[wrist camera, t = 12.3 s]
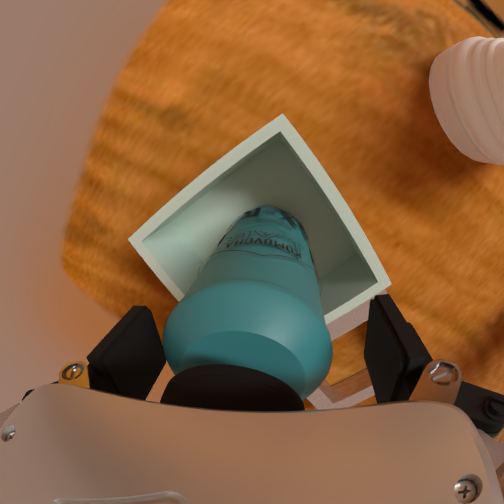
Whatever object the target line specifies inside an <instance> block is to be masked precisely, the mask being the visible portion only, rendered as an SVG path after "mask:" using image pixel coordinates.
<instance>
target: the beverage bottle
mask: <svg viewBox="0 0 504 504" xmlns="http://www.w3.org/2000/svg"><path fill="white" fill-rule="evenodd" d="M260 206H261V205H260ZM277 207H278V206H277ZM277 207H274V206H273V205H272V207H267V206H265V207H262V206H261V207H258V208H256V206H255V208H254V209H253V207H252V210H249V211H248V210H247V212H245V213H242V214H243V215H242V216H241V215H240V216H241V217H240V216H239V217H240V218H239V217H237V219H238V218H239V219H238V220H237V219H236V220H237V221H236V220H234V221H236V222H235V224H234V225H233V224H232V225H230V227H231V226H232V228H231V229H230V231H229V232H228V233H227V235H226V234H225V235H224V237H223V238H222V239H221V241H219V244H218V245H217V246H216V247H217V249H216V250H215V248H216V247H215V248H214V250H215V251H214V250H213V251H214V253H213V254H212V255H211V256H210V257H208V258H209V259H208V261H207V263H206V264H205V266H204V267H203V269H202V271H201V273H200V274H199V271H198V274H199V276H198V277H197V279H196V280H195V281H194V283H193V284H192V286H191V287H190V289H189V290H188V292H187V293H186V294H185V296H184V297H183V299H181V300H180V301H179V303H178V304H177V305H176V306H175V307H174V309H173V310H172V312H171V314H170V315H169V317H168V319H167V321H166V324H165V327H164V332H163V347H164V353H165V356H166V359H167V362H168V364H169V366H170V368H171V369H172V371H173V373H174V375H175V376H174V377H173V378H172V379H171V380H170V381H169V383H168V384H167V386H166V389H165V391H164V393H163V395H162V398H161V401H160V403H164V404H171V405H179V406H187V407H195V408H206V409H218V410H234V411H305V408H304V404H303V400H304V399H306V398H307V397H308V396H310V395H311V394H312V393H313V392H314V391H315V390H316V389H317V388H318V387H319V386H320V385H321V384H322V382H323V381H324V379H325V378H326V376H327V374H328V373H329V370H330V367H331V362H332V356H333V351H332V342H331V336H330V333H329V330H328V328H327V326H326V323H325V318H324V313H323V308H322V304H321V299H320V296H321V294H320V295H319V286H318V282H317V278H316V276H317V273H318V272H317V273H316V271H315V270H316V269H315V270H314V267H315V265H314V264H316V262H315V263H314V261H315V260H314V261H313V258H312V254H311V251H309V247H308V243H307V240H308V238H307V237H308V235H307V236H305V235H306V233H305V230H304V228H305V227H304V228H303V226H302V225H301V223H300V222H298V220H297V219H296V218H295V217H294V216H292V215H291V214H290V211H289V213H288V212H286V211H285V210H284V208H283V210H282V209H279V208H277ZM230 227H229V228H230ZM229 228H228V229H229ZM228 229H227V230H228ZM306 238H307V239H306ZM313 256H314V255H313ZM315 268H316V267H315ZM315 273H316V274H315ZM318 277H319V276H318ZM318 281H319V280H318ZM321 291H322V285H321Z"/></svg>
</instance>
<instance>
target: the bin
mask: <svg viewBox="0 0 504 504" xmlns="http://www.w3.org/2000/svg"><path fill="white" fill-rule="evenodd" d="M260 205H261V206H262V207H265V206H267V207H272V205H273V206H274V207H277V206H278V207H277V208H279V209H282V210H283V208H284V210H285V211H286V212H288V213H289V211H290V214H291V215H292V216H294V217H295V218H296V219H297V220H298V222H300V223H301V225H302V226H303V228H304V227H305V228H304V230H305V233H306V235H305V236H307V235H308V237H307V238H308V240H307V243H308V247H309V251H311V254H312V258H313V261H314V260H315V261H314V263H315V262H316V264H314V265H315V267H316V268H315V267H314V270H315V269H316V270H315V271H316V273H317V272H318V273H317V276H316V278H317V282H318V286H319V295H320V294H321V296H320V299H321V304H322V308H323V313H324V318H325V323H326V325H327V324H328V323H330V322H332V321H334V320H335V319H337V318H339V317H341V316H342V315H344V314H346V313H347V312H349V311H351V310H352V309H354V308H355V307H357V306H359V305H360V304H362V303H364V302H365V301H367V300H368V299H370V298H371V297H373V296H375V295H376V294H378V293H379V292H381V291H382V290H384V289H385V288H387V287H388V286H390V285H391V282H390V280H389V278H388V276H387V274H386V272H385V270H384V268H383V266H382V264H381V262H380V261H379V259H378V257H377V255H376V253H375V251H374V250H373V248H372V246H371V244H370V242H369V241H368V239H367V237H366V235H365V234H364V232H363V230H362V228H361V227H360V225H359V223H358V222H357V220H356V218H355V217H354V215H353V213H352V212H351V210H350V208H349V207H348V205H347V204H346V202H345V200H344V199H343V197H342V196H341V194H340V193H339V191H338V190H337V188H336V186H335V185H334V183H333V182H332V180H331V179H330V177H329V176H328V174H327V173H326V171H325V170H324V169H323V167H322V166H321V164H320V163H319V161H318V160H317V158H316V157H315V156H314V154H313V153H312V151H311V150H310V149H309V147H308V146H307V145H306V143H305V142H304V140H303V139H302V138H301V136H300V135H299V134H298V132H297V131H296V130H295V128H294V127H293V126H292V125H291V123H290V122H289V121H288V119H287V118H286V117H285V116H284V114H281V115H280V116H278V117H277V118H275V119H274V120H272V121H271V122H270V123H268V124H267V125H265V126H264V127H262V128H261V129H260V130H258V131H257V132H255V133H254V134H253V135H251V136H250V137H249V138H247V139H246V140H244V141H243V142H242V143H240V144H239V145H238V146H236V147H235V148H234V149H232V150H231V151H230V152H228V153H227V154H226V155H225V156H223V157H222V158H221V159H219V160H218V161H217V162H216V163H214V164H213V165H212V166H211V167H209V168H208V169H207V170H206V171H204V172H203V173H202V174H201V175H199V176H198V177H197V178H196V179H195V180H193V181H192V182H191V183H190V184H189V185H187V186H186V187H185V188H184V189H183V190H181V191H180V192H179V193H178V194H177V195H176V196H174V197H173V198H172V199H171V200H170V201H169V202H168V203H167V204H165V205H164V206H163V207H162V208H161V209H160V210H159V211H158V212H156V213H155V214H154V215H153V216H152V217H151V218H150V219H149V220H148V221H147V222H146V223H145V224H143V225H142V226H141V227H140V228H139V229H138V230H137V231H136V232H135V233H134V234H133V235H132V236H131V237H130V238H129V239H128V240H129V242H130V243H131V244H132V245H133V247H134V248H135V249H136V251H137V252H138V253H139V254H140V256H141V257H142V258H143V260H144V261H145V262H146V263H147V265H148V266H149V267H150V268H151V270H152V271H153V272H154V273H155V274H156V276H157V277H158V278H159V279H160V281H161V282H162V283H163V284H164V285H165V286H166V288H167V289H168V290H169V291H170V292H171V294H172V295H173V296H174V297H175V298H176V299H177V301H178V302H179V301H180V300H181V299H183V297H184V296H185V294H186V293H187V292H188V290H189V289H190V287H191V286H192V284H193V283H194V281H195V280H196V279H197V277H198V276H199V274H200V273H201V271H202V269H203V267H204V266H205V264H206V263H207V261H208V259H209V258H208V257H210V256H211V255H212V254H213V253H214V251H215V250H216V249H217V247H216V246H217V245H218V244H219V241H221V239H222V238H223V237H224V235H225V234H226V235H227V233H228V232H229V231H230V229H231V228H232V226H231V227H230V225H232V224H233V225H234V224H235V222H236V221H237V220H238V219H239V218H240V217H241V216H242V215H243V214H242V213H245V212H247V210H248V211H249V210H252V207H253V209H254V208H255V206H256V208H258V207H261V206H260ZM240 215H241V216H240ZM239 216H240V217H239ZM237 217H239V218H238V219H237ZM236 219H237V220H236ZM234 220H236V221H234ZM229 227H230V228H229ZM228 228H229V229H228ZM227 229H228V230H227ZM307 238H306V239H307ZM215 247H216V248H215ZM214 248H215V250H214ZM213 250H214V251H213ZM313 255H314V256H313ZM198 271H199V274H198ZM316 273H315V274H316ZM318 276H319V277H318ZM318 280H319V281H318ZM321 285H322V291H321Z"/></svg>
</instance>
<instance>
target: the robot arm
mask: <svg viewBox="0 0 504 504" xmlns="http://www.w3.org/2000/svg"><path fill="white" fill-rule="evenodd" d="M87 359H88V361H89V365H88V366H87V365H86V363H84V362H82V361H75V362H71V363H69V364H67V365H65V366H64V367H63V368H62V369H61V371H60V372H59V380H58V381H57V382H54V383H51V384H47V385H43V386H39V387H37V388H36V389H33V390H29V391H28V392H26V394H25V396H24V397H23V399H22V402H21V403H18V404H17V405H15V406H13V407H11V408H10V409H8V410H6V411H4V412H3V413H1V414H0V504H504V395H502V394H499V393H496V392H493V391H490V390H487V389H484V388H481V387H478V386H475V385H472V384H470V383H467V382H464V381H462V375H463V374H462V371H461V369H460V367H459V366H458V365H457V364H455V363H454V362H452V361H449V360H445V359H438V360H434V361H433V359H432V358H431V356H430V354H429V353H428V351H427V349H426V347H425V346H424V344H423V342H422V341H421V339H420V337H419V336H418V334H417V332H416V331H415V329H414V328H413V326H412V324H411V323H409V322H408V323H407V322H406V320H405V319H404V317H403V315H402V314H401V312H400V311H399V309H398V308H397V306H396V304H395V303H394V301H393V300H392V298H391V297H390V295H389V294H382V295H375V297H374V299H371V300H370V304H369V315H368V325H367V333H366V341H365V349H364V359H365V362H366V366H367V369H368V372H369V376H370V379H371V382H372V386H373V390H374V393H375V397H376V400H377V404H371V405H362V406H353V407H345V408H335V409H322V410H306V411H234V410H218V409H206V408H195V407H187V406H179V405H171V404H164V403H157V402H152V401H146V400H145V399H146V398H147V396H148V394H149V392H150V390H151V389H152V387H153V385H154V383H155V381H156V380H157V378H158V376H159V374H160V372H161V371H162V369H163V367H164V365H165V364H166V360H167V359H166V356H165V353H164V348H163V345H162V342H161V340H160V337H159V334H158V331H157V328H156V325H155V322H154V318H153V315H152V312H151V310H150V309H148V308H147V307H146V306H133V307H132V308H131V309H130V310H129V311H128V312H127V313H126V314H125V316H124V317H123V318H122V319H121V320H120V321H119V322H118V323H117V324H116V325H115V326H114V327H113V328H112V330H111V331H110V332H109V333H108V334H107V335H106V336H105V337H104V339H102V340H101V342H100V343H99V344H98V345H97V346H96V347H95V348H94V349H93V351H92V352H91V353H90V354H89V355H88V356H87Z"/></svg>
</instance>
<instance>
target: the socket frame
mask: <svg viewBox="0 0 504 504" xmlns="http://www.w3.org/2000/svg"><path fill="white" fill-rule="evenodd" d="M382 294H387V292H386V290H385V289H384V290H382V291H381V292H379V293H378V294H376V295H382ZM374 297H375V296H373V297H371V298H370V299H368V300H367V301H365V302H364V303H362V304H360V305H359V306H357V307H355V308H354V309H352V310H351V311H349V312H347V313H346V314H344V315H342V316H341V317H339V318H337V319H335V320H334V321H332V322H330V323H328V324H327V325H326V326H327V328H328V330H329V333H330V336H331V341H332V340H334V339H336V338H338V337H340V336H341V335H343V334H345V333H347V332H348V331H350V330H352V329H354V328H355V327H357V326H359V325H360V324H362V323H364V322H365V321H367V320H368V315H369V304H370V300H371V299H374ZM373 395H375V393H374V390H373V386H372V382H371V379H370V376H369V372H368V369H367V368H366V369H364V370H362V371H360V372H359V373H357V374H355V375H353V376H351V377H349V378H347V379H345V380H343V381H341V382H339V383H337V384H335V385H333V386H330V385H329V384H328V383H327V381H326V380H325V379H324V381H323V382H322V384H321V385H320V386H319V387H318V388H317V389H316V390H315V391H314V392H313V393H312V394H311V395H310V396H308V397H307V399H308V400H309V401H310V402H311V403H312V404H313V405H314V406H315V407H316V408H317V409H318V410H322V409H335V408H345V407H351V406H353V405H355V404H357V403H359V402H361V401H363V400H365V399H367V398H369V397H371V396H373Z"/></svg>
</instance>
